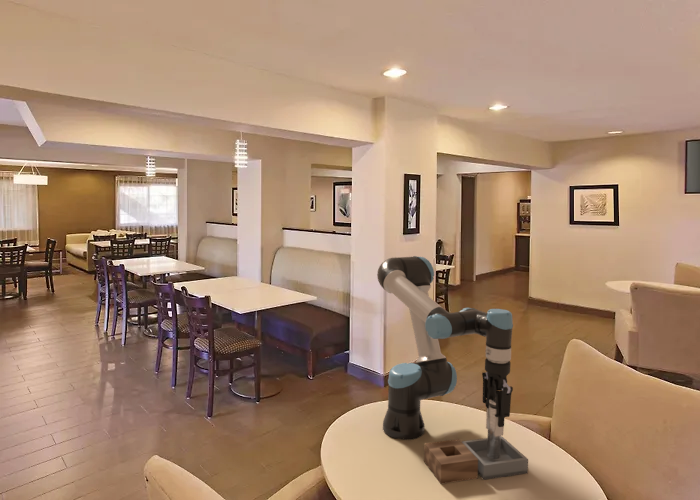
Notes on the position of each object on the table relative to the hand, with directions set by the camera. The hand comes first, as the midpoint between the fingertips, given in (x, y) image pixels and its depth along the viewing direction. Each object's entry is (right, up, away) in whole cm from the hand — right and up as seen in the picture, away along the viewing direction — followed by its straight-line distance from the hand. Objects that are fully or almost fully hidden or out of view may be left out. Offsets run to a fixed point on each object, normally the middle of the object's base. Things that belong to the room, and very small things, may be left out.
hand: (494, 431), depth 139 cm
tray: (0, -11, +1) cm, 11 cm away
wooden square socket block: (-15, -11, -3) cm, 18 cm away
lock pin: (0, -8, +1) cm, 8 cm away
